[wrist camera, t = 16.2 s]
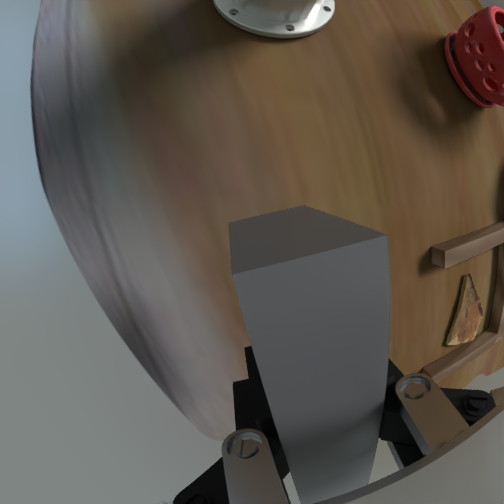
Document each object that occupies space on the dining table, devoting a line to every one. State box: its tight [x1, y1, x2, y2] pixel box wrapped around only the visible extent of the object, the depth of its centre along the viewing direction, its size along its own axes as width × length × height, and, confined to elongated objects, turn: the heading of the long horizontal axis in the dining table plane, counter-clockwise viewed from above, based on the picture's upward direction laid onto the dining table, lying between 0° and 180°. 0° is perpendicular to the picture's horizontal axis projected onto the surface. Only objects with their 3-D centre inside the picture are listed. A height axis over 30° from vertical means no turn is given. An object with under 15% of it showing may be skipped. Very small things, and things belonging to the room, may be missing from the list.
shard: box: [446, 273, 483, 345], centre depth 29 cm, size 11×8×2 cm
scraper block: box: [229, 206, 390, 504], centre depth 9 cm, size 12×3×6 cm, turn 13°
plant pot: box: [444, 6, 504, 108], centre depth 16 cm, size 13×13×12 cm
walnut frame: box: [422, 220, 504, 383], centre depth 28 cm, size 20×18×2 cm
